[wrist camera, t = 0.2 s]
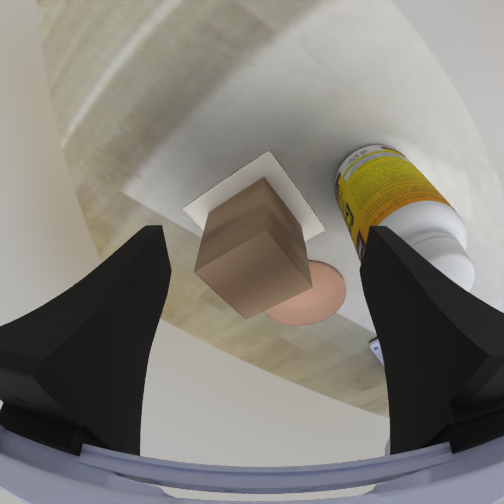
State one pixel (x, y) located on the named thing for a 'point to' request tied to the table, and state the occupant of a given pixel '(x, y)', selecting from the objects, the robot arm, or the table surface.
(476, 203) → the table surface
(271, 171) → the letter tile
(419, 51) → the table surface
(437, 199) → the supplement bottle
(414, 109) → the table surface
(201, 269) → the walnut block
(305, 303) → the pink rounded smooth part
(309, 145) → the table surface
